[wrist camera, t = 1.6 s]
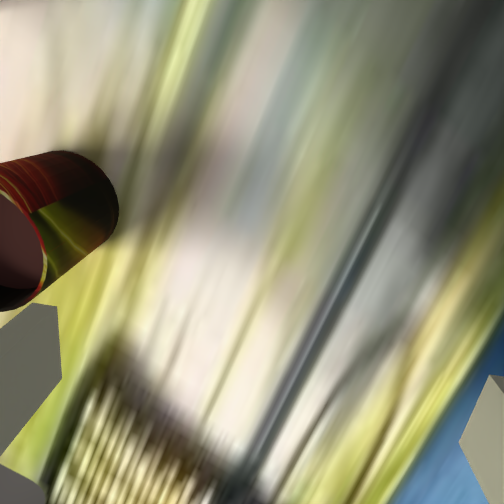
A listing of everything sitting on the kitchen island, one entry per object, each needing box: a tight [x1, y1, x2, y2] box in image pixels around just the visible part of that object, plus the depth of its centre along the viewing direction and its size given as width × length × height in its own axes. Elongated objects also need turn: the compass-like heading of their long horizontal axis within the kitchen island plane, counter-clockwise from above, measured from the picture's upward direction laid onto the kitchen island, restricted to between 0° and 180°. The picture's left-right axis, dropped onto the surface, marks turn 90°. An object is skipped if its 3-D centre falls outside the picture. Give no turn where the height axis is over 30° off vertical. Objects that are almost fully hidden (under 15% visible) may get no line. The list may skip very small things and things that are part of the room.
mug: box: [0, 151, 119, 312], centre depth 32 cm, size 10×14×12 cm
